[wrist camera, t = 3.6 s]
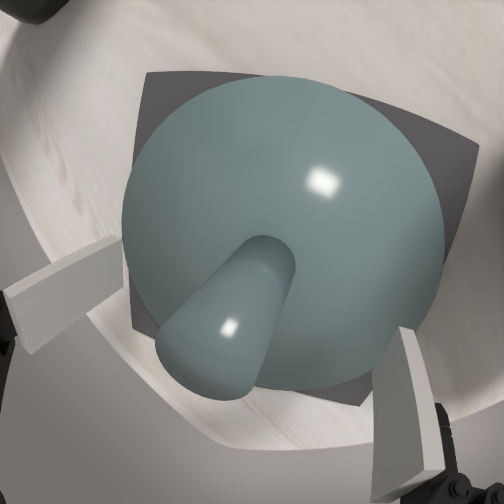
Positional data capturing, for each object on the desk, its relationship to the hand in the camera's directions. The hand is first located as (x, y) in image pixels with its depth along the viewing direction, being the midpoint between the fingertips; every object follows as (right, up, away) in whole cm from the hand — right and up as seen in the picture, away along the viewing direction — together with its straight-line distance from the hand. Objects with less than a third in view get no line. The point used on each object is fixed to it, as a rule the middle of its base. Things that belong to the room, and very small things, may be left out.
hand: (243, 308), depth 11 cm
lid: (+1, +2, +4) cm, 5 cm away
